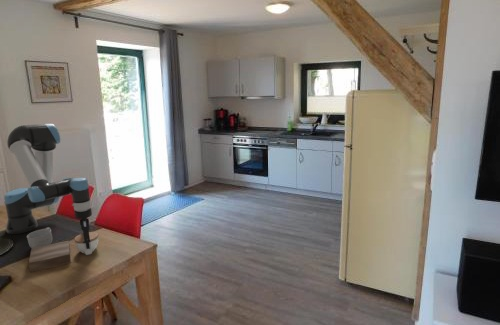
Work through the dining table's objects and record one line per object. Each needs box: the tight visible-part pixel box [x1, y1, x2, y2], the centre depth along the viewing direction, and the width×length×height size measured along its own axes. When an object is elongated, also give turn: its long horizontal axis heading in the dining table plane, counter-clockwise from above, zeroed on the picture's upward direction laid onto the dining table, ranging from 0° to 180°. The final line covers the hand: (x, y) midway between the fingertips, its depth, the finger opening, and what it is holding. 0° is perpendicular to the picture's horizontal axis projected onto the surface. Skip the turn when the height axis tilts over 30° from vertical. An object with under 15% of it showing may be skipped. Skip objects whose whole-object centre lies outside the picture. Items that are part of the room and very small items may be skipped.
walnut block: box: [28, 240, 72, 273], centre depth 154 cm, size 16×16×5 cm
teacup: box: [26, 227, 53, 249], centre depth 168 cm, size 14×11×8 cm
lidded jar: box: [74, 231, 99, 254], centre depth 162 cm, size 11×11×9 cm
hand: (87, 248), depth 163 cm, fingers open, 13 cm apart
